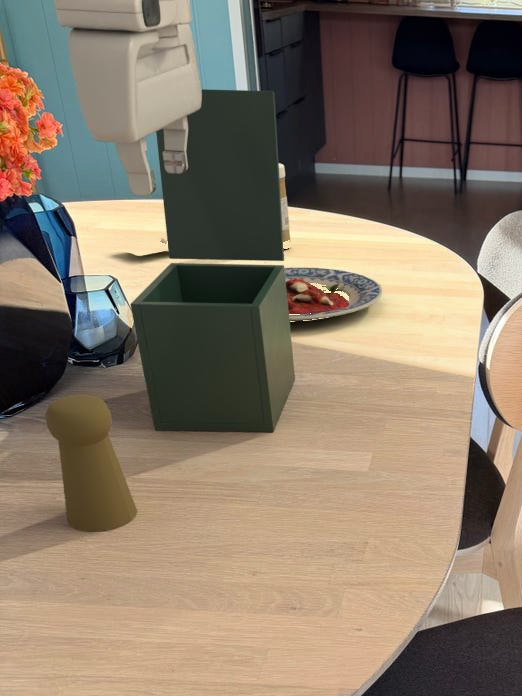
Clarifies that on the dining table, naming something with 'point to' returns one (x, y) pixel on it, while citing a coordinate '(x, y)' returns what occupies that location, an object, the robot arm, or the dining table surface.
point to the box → (216, 346)
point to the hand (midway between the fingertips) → (161, 182)
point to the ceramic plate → (322, 304)
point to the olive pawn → (89, 464)
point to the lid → (226, 181)
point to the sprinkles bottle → (284, 204)
